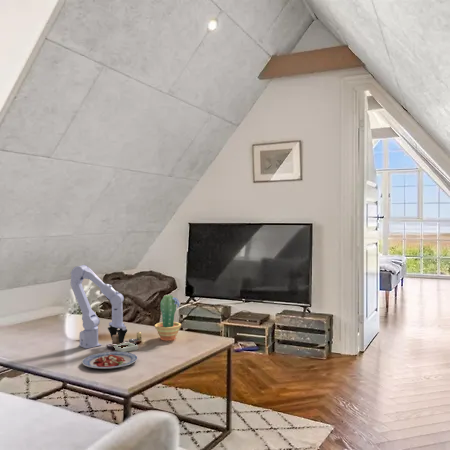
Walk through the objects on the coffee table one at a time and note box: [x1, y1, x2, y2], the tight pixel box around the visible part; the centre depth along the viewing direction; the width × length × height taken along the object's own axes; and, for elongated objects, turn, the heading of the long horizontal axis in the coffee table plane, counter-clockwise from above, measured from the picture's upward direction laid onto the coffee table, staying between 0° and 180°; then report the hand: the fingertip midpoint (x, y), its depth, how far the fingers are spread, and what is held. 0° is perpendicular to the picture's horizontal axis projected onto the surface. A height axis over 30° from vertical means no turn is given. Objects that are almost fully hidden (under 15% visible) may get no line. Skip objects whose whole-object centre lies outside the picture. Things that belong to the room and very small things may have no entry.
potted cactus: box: [154, 294, 182, 342], centre depth 273 cm, size 15×15×25 cm
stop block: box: [111, 333, 120, 344], centre depth 257 cm, size 4×4×6 cm
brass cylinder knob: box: [128, 331, 142, 342], centre depth 263 cm, size 8×3×4 cm, turn 135°
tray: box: [112, 341, 139, 353], centre depth 250 cm, size 9×9×2 cm
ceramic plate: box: [81, 351, 138, 370], centre depth 227 cm, size 26×26×3 cm
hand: (117, 341), depth 257 cm, fingers open, 7 cm apart
